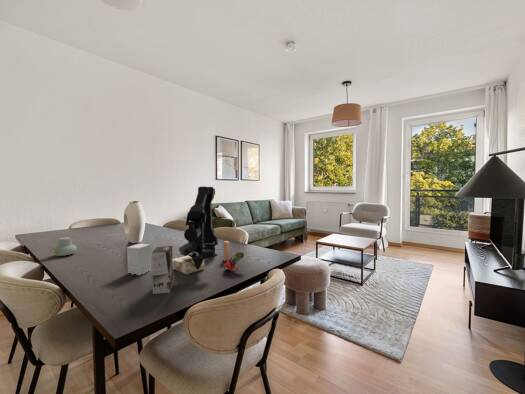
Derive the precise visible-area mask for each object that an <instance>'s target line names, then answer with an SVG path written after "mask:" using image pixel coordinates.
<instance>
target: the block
mask: <svg viewBox="0 0 525 394" xmlns="http://www.w3.org/2000/svg"><path fill="white" fill-rule="evenodd" d="M205 269H206V268H205V261H204V260H203V262H202V264H201V266H200V269H199V270H197V269H196V267H195V264H194V261H193V259H192V258H191V257H186V258H182V259H178V260H175V270H176V271H177V272H180V273H182V274H185V275H189V274H192V273H195V272H198V271H203V270H205Z"/></svg>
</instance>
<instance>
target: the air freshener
mask: <svg viewBox="0 0 525 394" xmlns="http://www.w3.org/2000/svg"><path fill="white" fill-rule="evenodd" d="M57 240H58V245H57V246H56V247H54V249H53V254H54V255H55V256H57V257H60V256H63V257H66V256H65V255H69V256H71V255H70V254H72V255H73V253H74V254H75V253H76V252H77V250H78V248H77V245H75V244H73V243H72V241H73V240H72V237H69V236H67V237H66V236H65V237H60V238H58V239H57Z"/></svg>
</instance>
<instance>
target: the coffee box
mask: <svg viewBox="0 0 525 394" xmlns="http://www.w3.org/2000/svg"><path fill="white" fill-rule="evenodd" d="M173 259H174V258H173V245H166V246H156V247H155V248H154V250H153V251H152V252H151V271H152V294H153V295H157V294H169V293H171V290H172V287H173V285H174V270H173Z"/></svg>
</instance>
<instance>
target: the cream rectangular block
mask: <svg viewBox="0 0 525 394" xmlns="http://www.w3.org/2000/svg"><path fill="white" fill-rule="evenodd" d="M186 257H190V256H188V255H187V256H184V255H183V256H181V257H176V258H173V271H174V270H176V269H175V260H178V259H182V258H186ZM205 260H206V259H204V262H206V261H205Z"/></svg>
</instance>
